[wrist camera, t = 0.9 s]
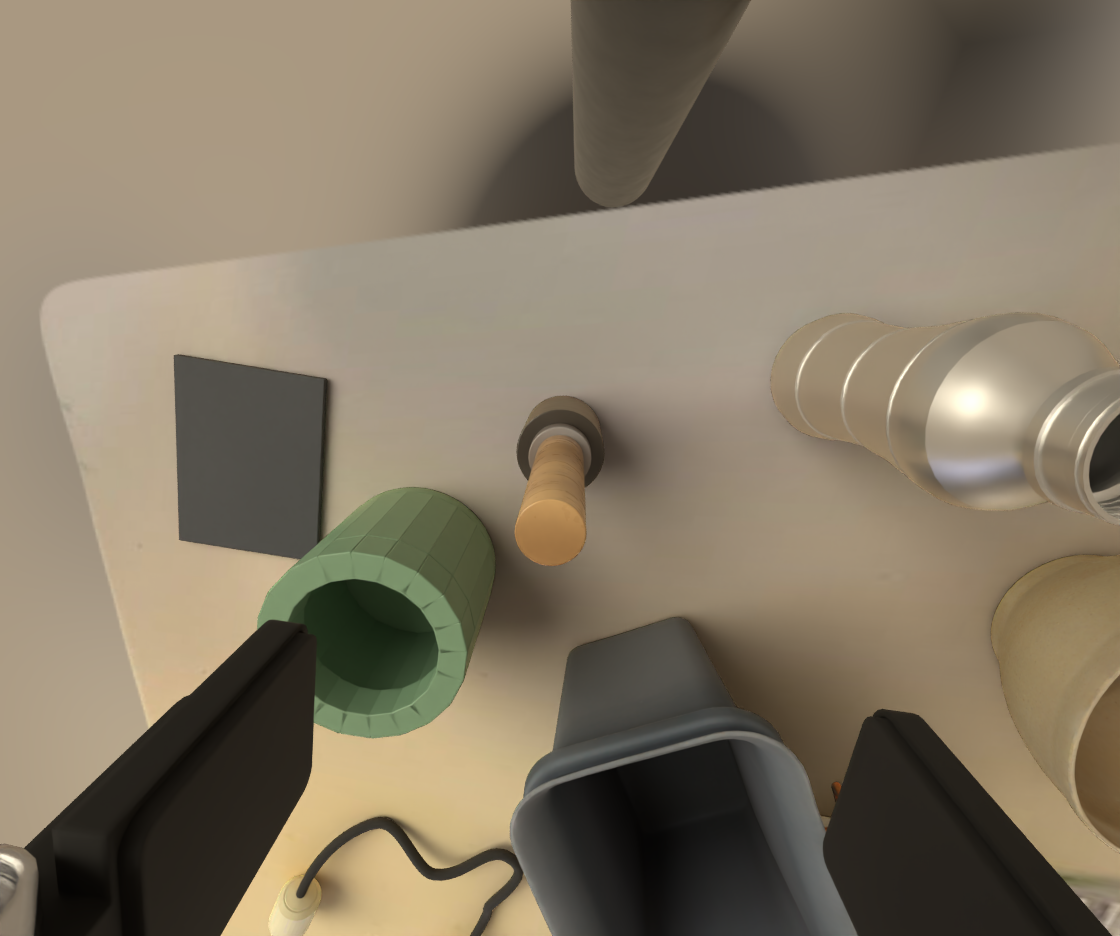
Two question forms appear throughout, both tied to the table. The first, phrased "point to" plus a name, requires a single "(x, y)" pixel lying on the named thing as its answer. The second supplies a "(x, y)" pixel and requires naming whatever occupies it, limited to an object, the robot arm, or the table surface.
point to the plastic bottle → (966, 406)
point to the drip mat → (249, 456)
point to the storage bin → (670, 805)
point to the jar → (390, 610)
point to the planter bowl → (1068, 680)
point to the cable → (305, 891)
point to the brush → (557, 478)
